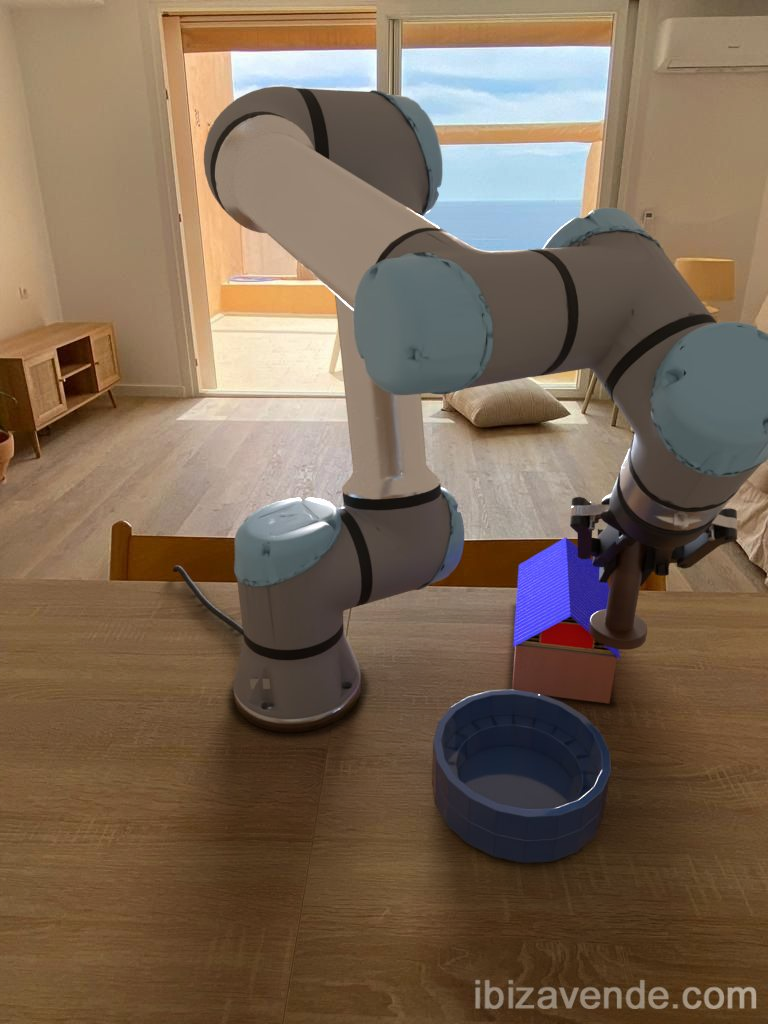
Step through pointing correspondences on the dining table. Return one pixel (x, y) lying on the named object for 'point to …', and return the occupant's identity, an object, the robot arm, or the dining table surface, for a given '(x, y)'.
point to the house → (561, 627)
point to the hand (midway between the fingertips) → (620, 571)
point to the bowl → (520, 775)
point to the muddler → (622, 603)
